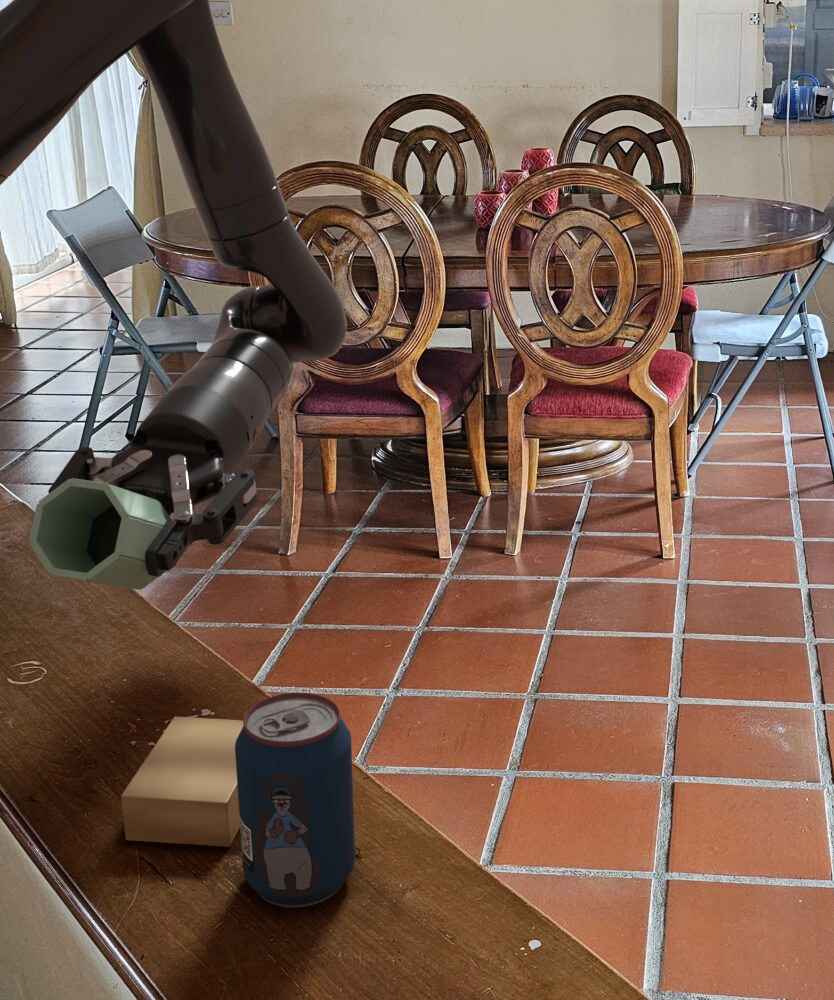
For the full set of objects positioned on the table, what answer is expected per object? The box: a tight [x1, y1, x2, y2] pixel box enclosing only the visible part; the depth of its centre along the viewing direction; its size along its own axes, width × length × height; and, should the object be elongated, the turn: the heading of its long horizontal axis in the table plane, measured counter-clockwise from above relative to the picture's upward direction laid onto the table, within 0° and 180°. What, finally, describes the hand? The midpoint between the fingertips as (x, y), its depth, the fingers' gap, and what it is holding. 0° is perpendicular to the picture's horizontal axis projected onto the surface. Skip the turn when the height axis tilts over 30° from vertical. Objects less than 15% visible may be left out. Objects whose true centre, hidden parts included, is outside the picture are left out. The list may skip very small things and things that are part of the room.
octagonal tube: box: [28, 478, 173, 591], centre depth 88 cm, size 8×6×6 cm
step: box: [120, 716, 244, 848], centre depth 89 cm, size 10×7×4 cm
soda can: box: [235, 691, 356, 909], centre depth 81 cm, size 7×7×12 cm
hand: (102, 558), depth 87 cm, fingers closed on octagonal tube, 6 cm apart
